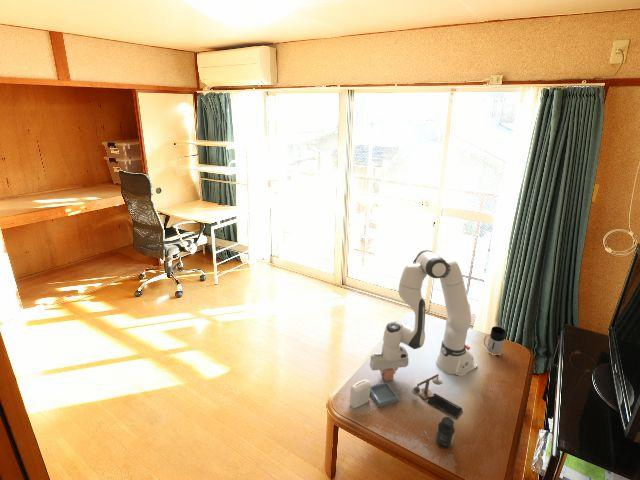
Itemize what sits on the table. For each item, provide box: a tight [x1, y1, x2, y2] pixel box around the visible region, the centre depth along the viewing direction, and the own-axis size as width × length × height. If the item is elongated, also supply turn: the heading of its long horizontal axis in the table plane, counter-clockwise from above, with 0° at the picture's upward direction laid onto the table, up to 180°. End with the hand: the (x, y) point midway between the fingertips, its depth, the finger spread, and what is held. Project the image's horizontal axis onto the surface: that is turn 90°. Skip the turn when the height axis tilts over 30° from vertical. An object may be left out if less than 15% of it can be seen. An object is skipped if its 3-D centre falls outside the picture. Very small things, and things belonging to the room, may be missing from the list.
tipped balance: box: [411, 373, 443, 401], centre depth 184 cm, size 17×6×11 cm, turn 111°
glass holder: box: [483, 325, 507, 354], centre depth 216 cm, size 9×14×15 cm, turn 113°
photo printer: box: [349, 379, 372, 409], centre depth 177 cm, size 10×4×12 cm, turn 124°
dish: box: [370, 381, 400, 408], centre depth 183 cm, size 11×11×2 cm
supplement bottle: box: [435, 416, 456, 449], centre depth 158 cm, size 7×7×12 cm
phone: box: [427, 393, 463, 420], centre depth 179 cm, size 8×1×15 cm
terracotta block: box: [381, 368, 395, 382], centre depth 195 cm, size 4×4×6 cm
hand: (387, 373), depth 196 cm, fingers closed on terracotta block, 5 cm apart
